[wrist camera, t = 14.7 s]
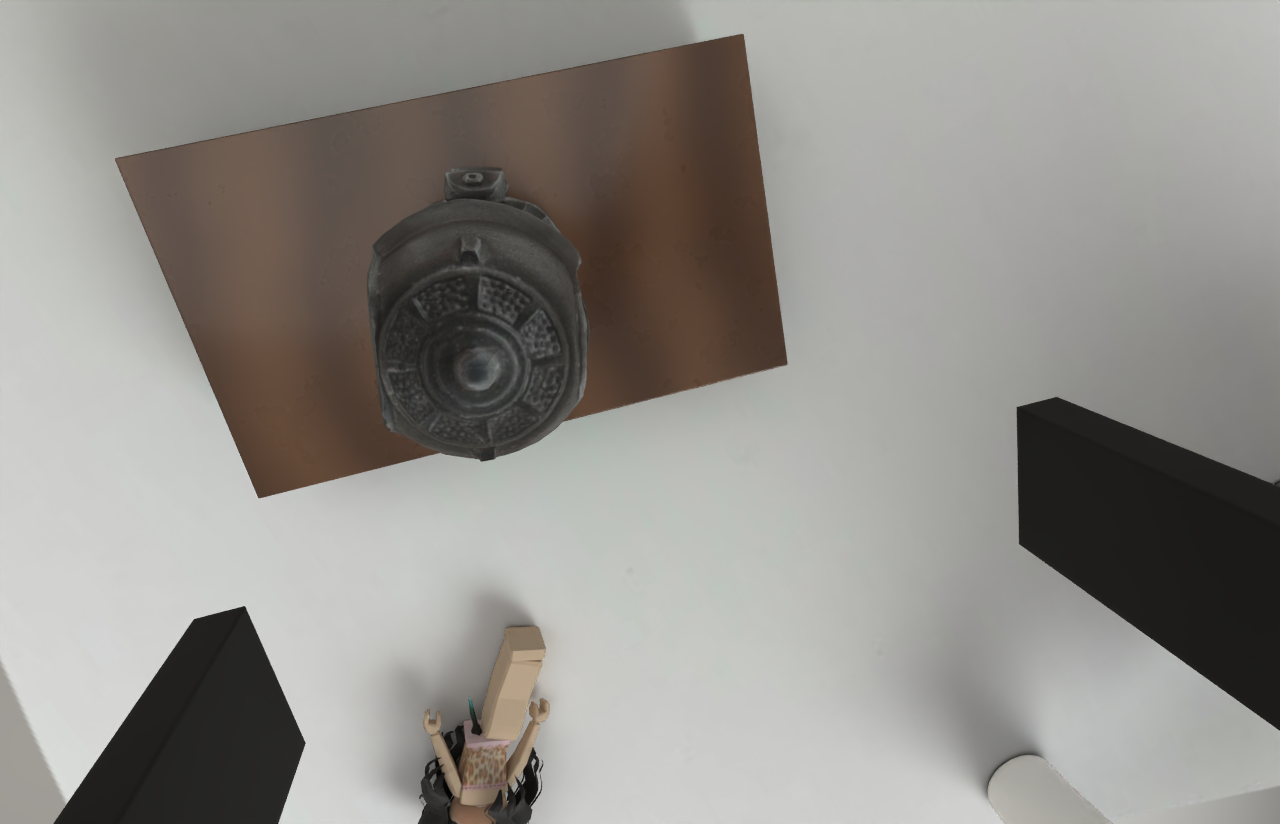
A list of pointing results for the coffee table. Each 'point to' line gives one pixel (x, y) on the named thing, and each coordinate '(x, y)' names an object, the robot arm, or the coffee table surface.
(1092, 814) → the drinking glass
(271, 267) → the shelf
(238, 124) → the coffee table surface
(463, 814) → the toy figure
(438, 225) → the toy
